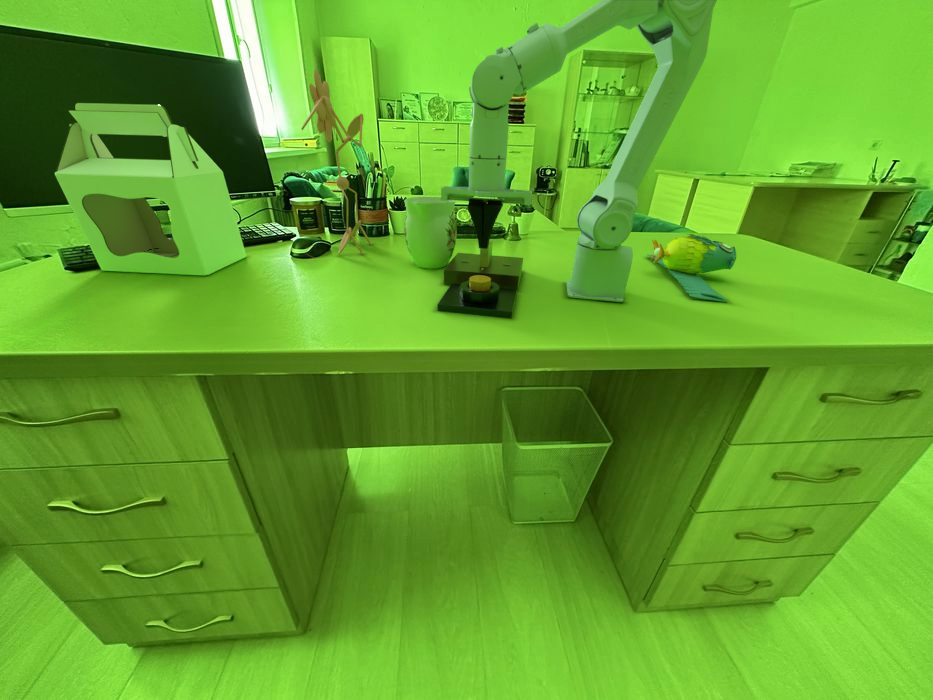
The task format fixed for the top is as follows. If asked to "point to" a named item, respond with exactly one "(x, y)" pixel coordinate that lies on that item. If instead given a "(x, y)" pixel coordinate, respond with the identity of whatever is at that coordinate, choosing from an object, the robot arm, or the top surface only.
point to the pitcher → (430, 231)
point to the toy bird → (695, 262)
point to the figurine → (324, 124)
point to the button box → (479, 300)
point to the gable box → (147, 195)
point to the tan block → (486, 255)
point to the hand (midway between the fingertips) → (483, 247)
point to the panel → (484, 270)
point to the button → (480, 283)
